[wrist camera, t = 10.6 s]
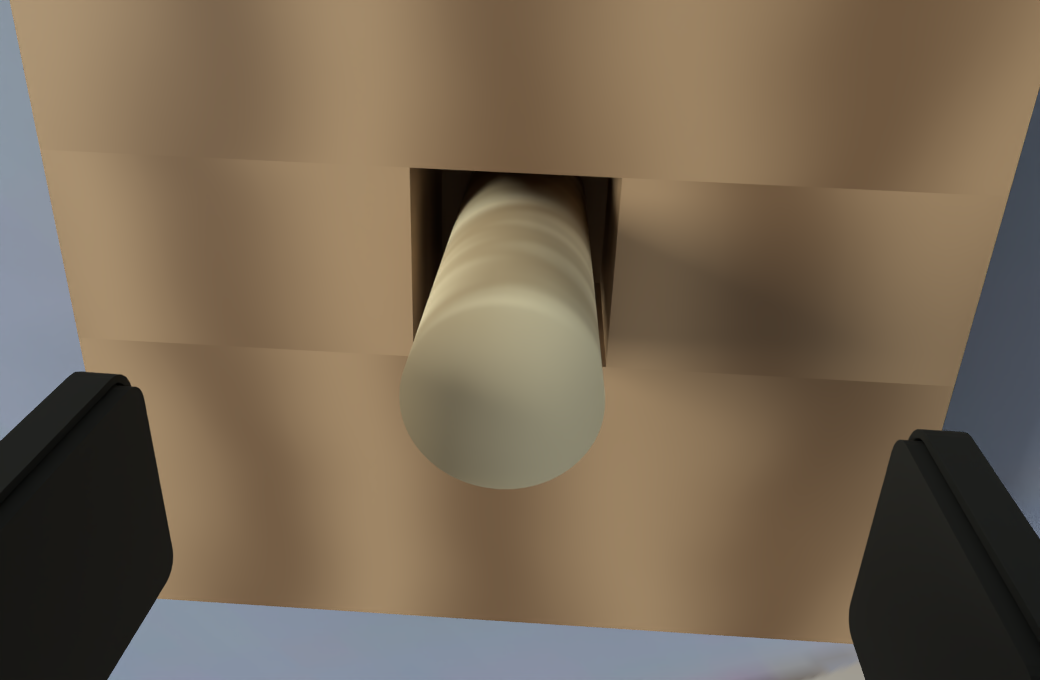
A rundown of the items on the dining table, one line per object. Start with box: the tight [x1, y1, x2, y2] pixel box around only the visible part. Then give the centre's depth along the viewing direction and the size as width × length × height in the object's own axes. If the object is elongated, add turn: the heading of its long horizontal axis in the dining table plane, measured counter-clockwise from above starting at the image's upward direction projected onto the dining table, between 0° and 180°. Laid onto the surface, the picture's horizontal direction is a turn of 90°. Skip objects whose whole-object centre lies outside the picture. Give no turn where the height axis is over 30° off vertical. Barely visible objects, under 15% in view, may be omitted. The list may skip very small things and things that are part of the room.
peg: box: [399, 171, 605, 489], centre depth 19 cm, size 3×3×11 cm
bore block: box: [10, 0, 1040, 644], centre depth 22 cm, size 20×20×6 cm
